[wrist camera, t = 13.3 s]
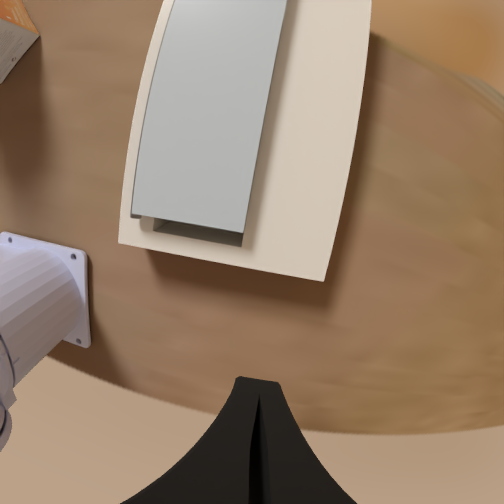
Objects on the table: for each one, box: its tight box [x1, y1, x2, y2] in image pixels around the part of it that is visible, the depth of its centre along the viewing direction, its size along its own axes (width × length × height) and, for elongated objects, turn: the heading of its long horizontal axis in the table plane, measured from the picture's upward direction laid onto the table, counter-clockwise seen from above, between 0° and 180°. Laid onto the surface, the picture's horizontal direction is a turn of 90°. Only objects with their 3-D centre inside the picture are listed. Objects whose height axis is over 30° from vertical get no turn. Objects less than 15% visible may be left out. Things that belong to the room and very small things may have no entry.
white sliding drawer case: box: [118, 0, 372, 282], centre depth 15 cm, size 20×11×3 cm, turn 169°
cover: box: [130, 0, 287, 233], centre depth 12 cm, size 17×6×1 cm, turn 169°
